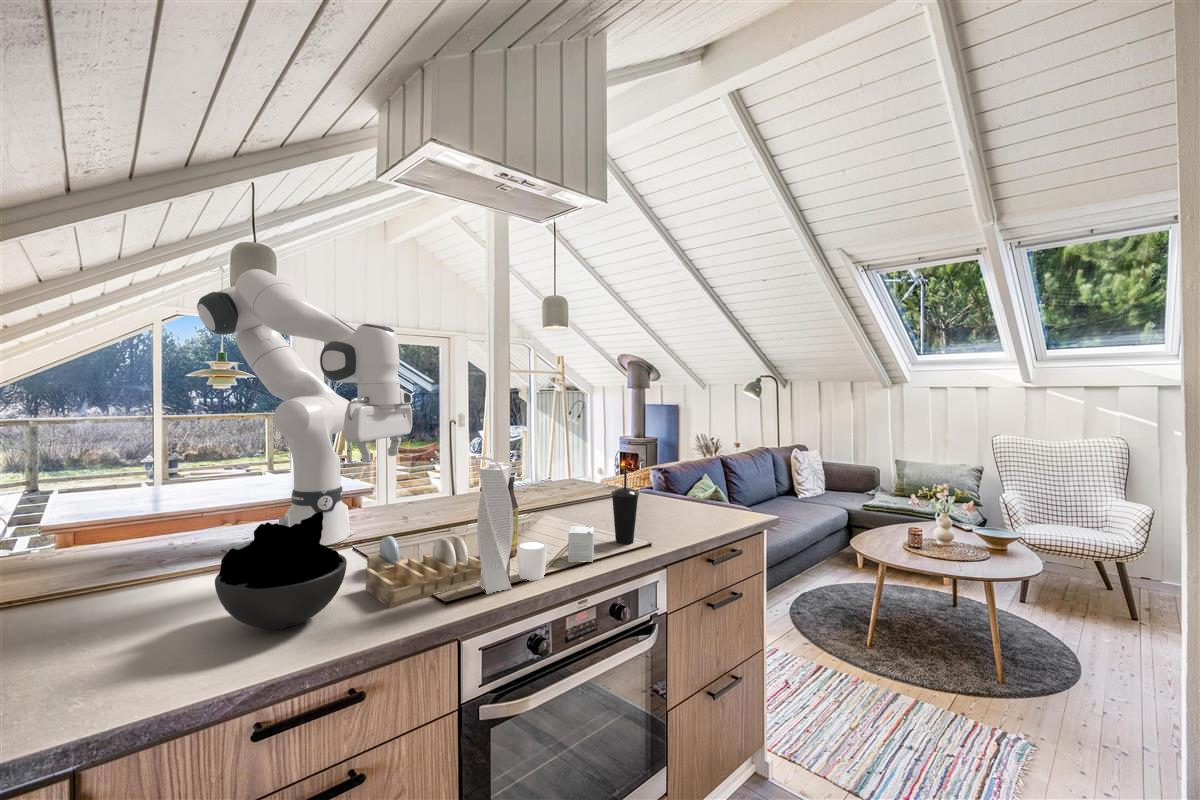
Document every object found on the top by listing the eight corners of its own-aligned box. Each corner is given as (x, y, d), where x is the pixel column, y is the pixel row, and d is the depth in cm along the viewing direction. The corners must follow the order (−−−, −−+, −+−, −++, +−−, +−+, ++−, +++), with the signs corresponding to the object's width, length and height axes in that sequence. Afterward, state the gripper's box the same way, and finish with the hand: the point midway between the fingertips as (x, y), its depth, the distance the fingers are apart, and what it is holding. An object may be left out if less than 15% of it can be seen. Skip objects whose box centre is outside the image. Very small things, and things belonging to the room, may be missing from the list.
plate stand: (367, 568, 122) (367, 556, 122) (392, 562, 126) (392, 551, 126) (386, 581, 115) (386, 568, 115) (412, 574, 119) (412, 562, 119)
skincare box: (570, 554, 134) (570, 525, 134) (594, 555, 134) (594, 526, 134) (567, 562, 128) (568, 532, 128) (592, 563, 128) (593, 533, 128)
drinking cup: (620, 536, 150) (621, 465, 150) (643, 541, 146) (644, 468, 145) (605, 542, 144) (605, 469, 144) (628, 548, 140) (629, 472, 139)
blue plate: (379, 567, 123) (379, 533, 123) (384, 566, 124) (384, 532, 123) (394, 577, 117) (394, 541, 117) (399, 575, 118) (399, 540, 118)
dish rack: (365, 590, 110) (365, 547, 110) (452, 567, 124) (453, 528, 124) (390, 608, 101) (390, 561, 101) (481, 581, 116) (481, 540, 115)
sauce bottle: (512, 560, 129) (513, 479, 129) (488, 558, 131) (488, 477, 130) (521, 551, 136) (522, 474, 135) (498, 549, 137) (499, 473, 136)
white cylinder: (510, 576, 119) (510, 545, 119) (533, 568, 124) (534, 538, 124) (529, 584, 114) (530, 552, 114) (553, 576, 119) (553, 545, 119)
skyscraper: (481, 597, 107) (482, 459, 106) (469, 585, 113) (470, 454, 112) (518, 589, 111) (519, 456, 110) (505, 578, 117) (505, 452, 116)
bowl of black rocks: (215, 665, 81) (214, 542, 80) (215, 617, 97) (213, 514, 96) (357, 630, 92) (357, 523, 92) (336, 592, 108) (335, 501, 108)
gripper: (361, 398, 108) (363, 465, 108) (416, 395, 128) (417, 452, 128) (334, 398, 109) (336, 465, 110) (393, 395, 129) (394, 452, 130)
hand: (380, 458), depth 119 cm, fingers open, 8 cm apart
